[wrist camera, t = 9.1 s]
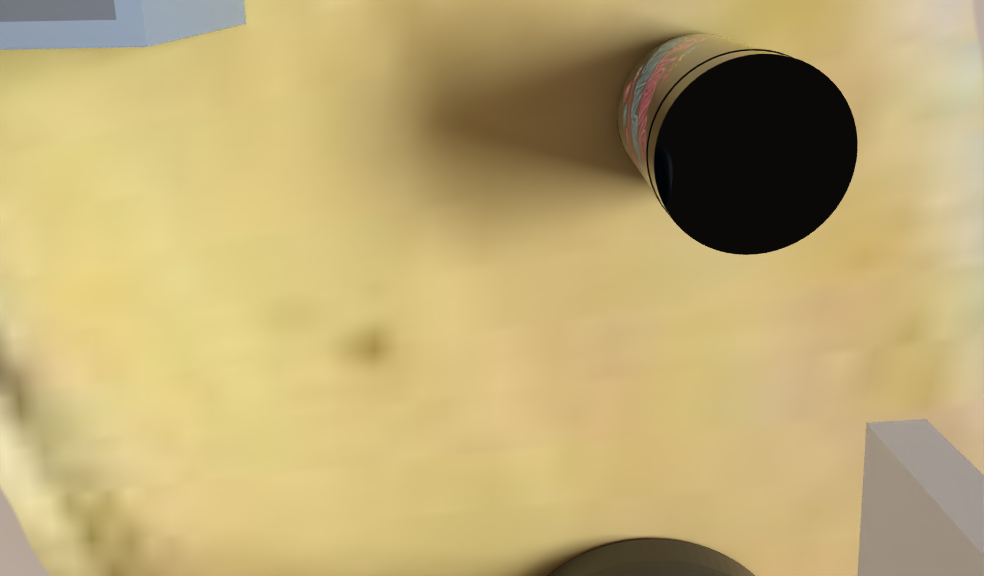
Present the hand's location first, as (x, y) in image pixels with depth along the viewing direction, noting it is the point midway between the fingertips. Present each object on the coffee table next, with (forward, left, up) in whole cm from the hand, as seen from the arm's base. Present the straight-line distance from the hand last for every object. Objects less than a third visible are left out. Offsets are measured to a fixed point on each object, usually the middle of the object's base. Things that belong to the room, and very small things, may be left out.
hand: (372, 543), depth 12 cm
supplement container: (+1, -10, -31) cm, 32 cm away
